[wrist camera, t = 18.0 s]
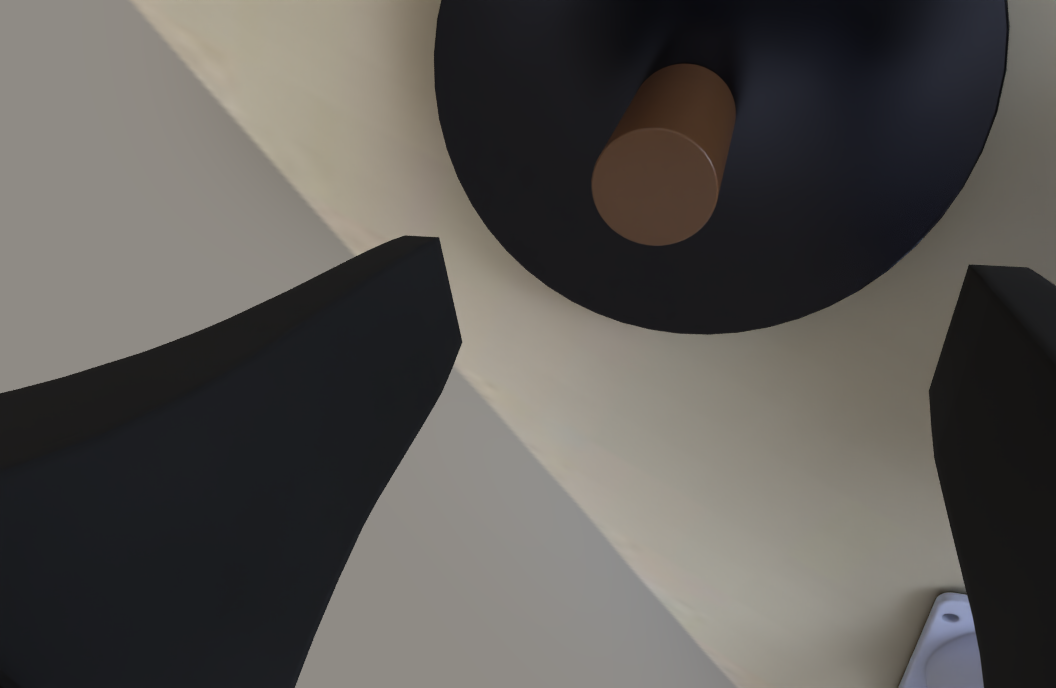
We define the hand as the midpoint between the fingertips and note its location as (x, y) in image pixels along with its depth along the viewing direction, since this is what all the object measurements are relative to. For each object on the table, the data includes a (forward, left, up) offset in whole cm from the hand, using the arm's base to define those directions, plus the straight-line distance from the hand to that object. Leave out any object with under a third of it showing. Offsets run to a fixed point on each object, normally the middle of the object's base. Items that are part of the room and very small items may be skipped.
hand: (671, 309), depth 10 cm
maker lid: (0, +1, -8) cm, 8 cm away
